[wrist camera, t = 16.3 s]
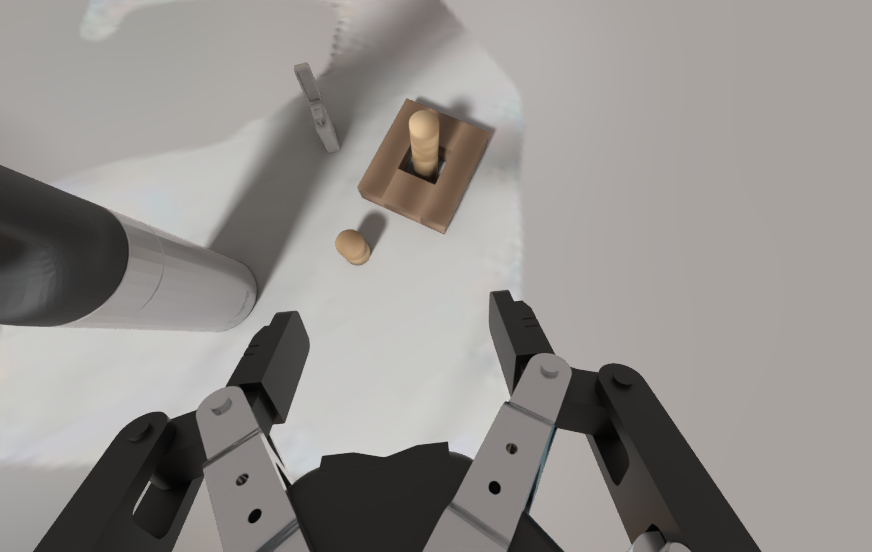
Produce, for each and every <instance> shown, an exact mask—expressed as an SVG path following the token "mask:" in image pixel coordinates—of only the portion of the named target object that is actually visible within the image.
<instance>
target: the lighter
mask: <svg viewBox="0 0 872 552" xmlns="http://www.w3.org/2000/svg"><path fill="white" fill-rule="evenodd" d="M294 72H295V74H296V77H297V79H298V81H299V83H300V86H301V88H302V90H303V93H304V95H305V97H306V99H307V102H308V104H309V105H311V106H310V110H311V113H312V117H313V120H314V124H315V128H316V131H317V134H318V135H319V137H320V139H321V141H322V143H323V144H324V146H325V148H326V150H327V152H328V153H332V152H335V151H339V150H340V146H339V143H338V140H337V136H336V133H335V129H334V126H333V124H332V122H331V119H330V117H329V115H328V113H327V111H326V109H325V106H324V104H323V103H322V97H321V94H320V92H319V89H318V87H317V84H316V82H315V79H314V77H313V74H312V72H311V69H310V67H309V64H308V63H302V64H298V65H295V66H294Z"/></svg>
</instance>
